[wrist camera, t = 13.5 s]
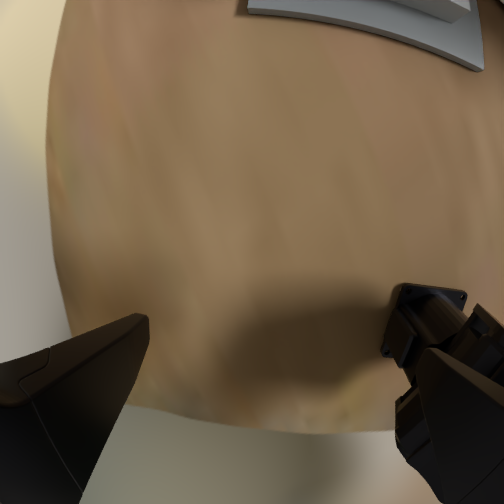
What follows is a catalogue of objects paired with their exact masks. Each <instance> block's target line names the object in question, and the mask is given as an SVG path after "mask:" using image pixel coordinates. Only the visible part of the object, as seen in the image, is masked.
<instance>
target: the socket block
mask: <svg viewBox="0 0 504 504" xmlns="http://www.w3.org/2000/svg"><path fill="white" fill-rule="evenodd" d="M247 8H248V12H249V14H264V15H276V16H285V17H294V18H301V19H308V20H315V21H321V22H326V23H332V24H337V25H342V26H346V27H351V28H355V29H360V30H364V31H368V32H371V33H375V34H379V35H382V36H386V37H389V38H393V39H396V40H399V41H402V42H405V43H408V44H411V45H414V46H417V47H420V48H422V49H425V50H428V51H430V52H433V53H435V54H438V55H440V56H443V57H445V58H448V59H450V60H452V61H455V62H457V63H459V64H461V65H463V66H466V67H468V68H470V69H472V70H474V71H476V72H480V71H483V70H484V57H483V44H482V34H481V26H480V19H479V12H478V6H477V0H249V1H248V6H247Z"/></svg>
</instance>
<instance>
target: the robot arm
mask: <svg viewBox="0 0 504 504" xmlns="http://www.w3.org/2000/svg"><path fill="white" fill-rule="evenodd" d="M408 288H410V290H409V291H408V292H406V290H407V289H408ZM462 295H463V297H462V298H461V296H462ZM466 300H467V293H466V292H465V291H463V290H457V289H449V288H441V287H434V286H426V285H419V284H411V283H406V284H404V285H403V286H402V288H401V291H400V294H399V298H398V301H397V304H396V307H395V309H394V310H393V311H392V313H391V316H390V319H389V322H388V325H387V328H386V331H385V334H384V342H383V345H382V347H381V351H380V352H381V354H382V356H383V357H389V358H394V360H395V362H396V364H397V366H398V367H399V368H403V370H404V372H405V374H406V376H407V378H408V380H409V382H410V385H411V386H412V387H411V388H410V389H409V390H408V391H407V392H406V393H405V394H404V395H403V396H400V397H399V398H398V399H397V400H396V401H395V440H396V445H397V448H398V449H399V451H400V452H401V454H402V455H403V457H404V458H405V459H406V462H407V463H408V464H409V465H410V466H412V467H413V468H414V469H416V470H417V471H418V472H419V473H420V475H421V476H422V477H423V478H424V479H425V480H426V481H427V483H428V484H429V486H430V487H431V489H432V490H433V492H434V494H435V495H436V497H437V498H438V500H439V501H440V502H441V503H443V504H504V325H502V324H501V323H500V322H499V321H498V320H497V319H496V318H494V317H493V316H492V315H491V314H490V313H489V312H487V311H486V310H485V309H484V308H483V307H482V306H480V305H479V304H478V303H477V304H476V306H475V307H474V309H473V313H472V314H471V315H470V317H469V318H468V317H467V316H466V315H465V314H464V313H463V312H462V311H463V308H464V305H465V302H466ZM149 340H150V334H149V318H148V316H147V315H144V314H139V313H134V314H131V315H129V316H126V317H124V318H121V319H119V320H116V321H114V322H111V323H109V324H106V325H104V326H101V327H99V328H96V329H94V330H91V331H89V332H86V333H84V334H81V335H79V336H76V337H74V338H71V339H69V340H66V341H64V342H61V343H58V344H56V345H53V346H51V347H50V348H45V349H43V350H41V351H38V352H35V353H32V354H30V355H27V356H24V357H21V358H17V359H14V360H11V361H8V362H4V363H0V504H79V502H80V500H81V497H82V495H83V492H84V490H85V488H86V485H87V483H88V481H89V479H90V476H91V474H92V472H93V470H94V468H95V465H96V463H97V461H98V459H99V457H100V454H101V452H102V450H103V448H104V446H105V444H106V442H107V439H108V437H109V435H110V433H111V431H112V429H113V427H114V424H115V422H116V420H117V419H118V416H119V414H120V412H121V410H122V408H123V406H124V404H125V402H126V400H127V398H128V396H129V394H130V392H131V390H132V388H133V386H134V384H135V381H136V379H137V376H138V373H139V370H140V367H141V364H142V362H143V359H144V356H145V353H146V351H147V348H148V345H149ZM386 350H388V351H387V352H385V351H386Z"/></svg>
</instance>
